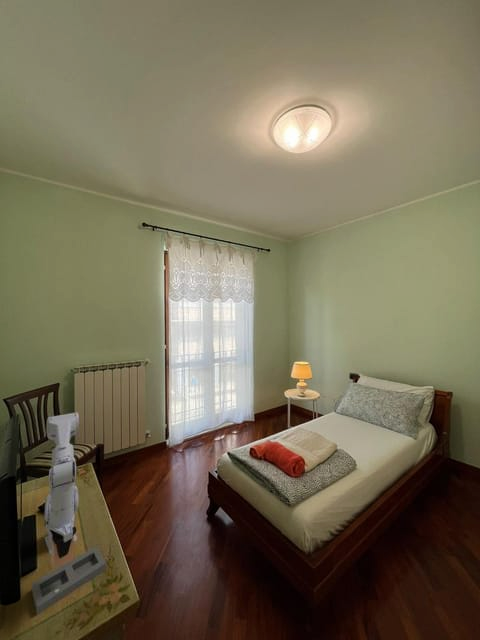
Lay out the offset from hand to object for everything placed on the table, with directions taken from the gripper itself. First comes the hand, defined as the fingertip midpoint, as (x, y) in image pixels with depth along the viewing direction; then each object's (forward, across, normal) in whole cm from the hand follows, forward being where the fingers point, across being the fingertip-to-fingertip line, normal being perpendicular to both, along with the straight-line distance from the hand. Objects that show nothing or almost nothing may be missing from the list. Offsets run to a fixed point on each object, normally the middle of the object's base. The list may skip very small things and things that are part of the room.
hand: (61, 551), depth 75 cm
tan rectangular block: (+3, 0, 0) cm, 3 cm away
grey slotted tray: (+10, 0, +2) cm, 11 cm away
